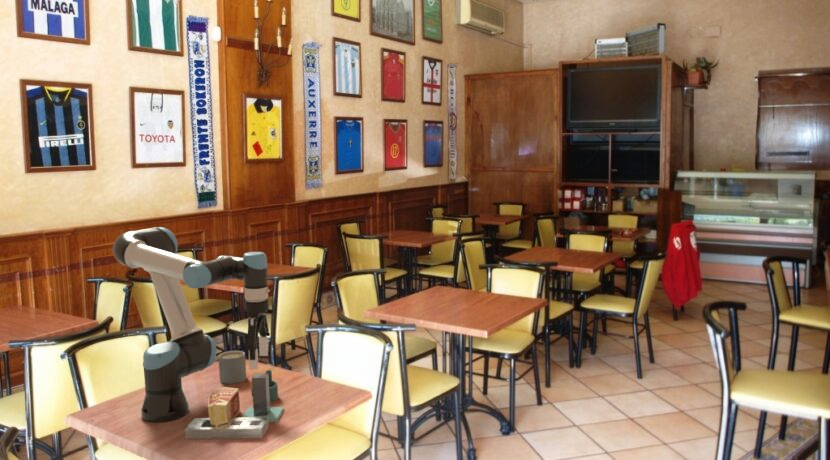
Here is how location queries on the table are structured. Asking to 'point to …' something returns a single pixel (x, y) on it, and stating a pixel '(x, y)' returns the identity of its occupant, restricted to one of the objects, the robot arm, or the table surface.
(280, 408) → the teal pad
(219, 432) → the rail
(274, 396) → the bracket
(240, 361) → the coffee mug
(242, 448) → the table surface
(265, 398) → the grey rectangular block
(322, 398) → the table surface
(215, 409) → the milk carton
